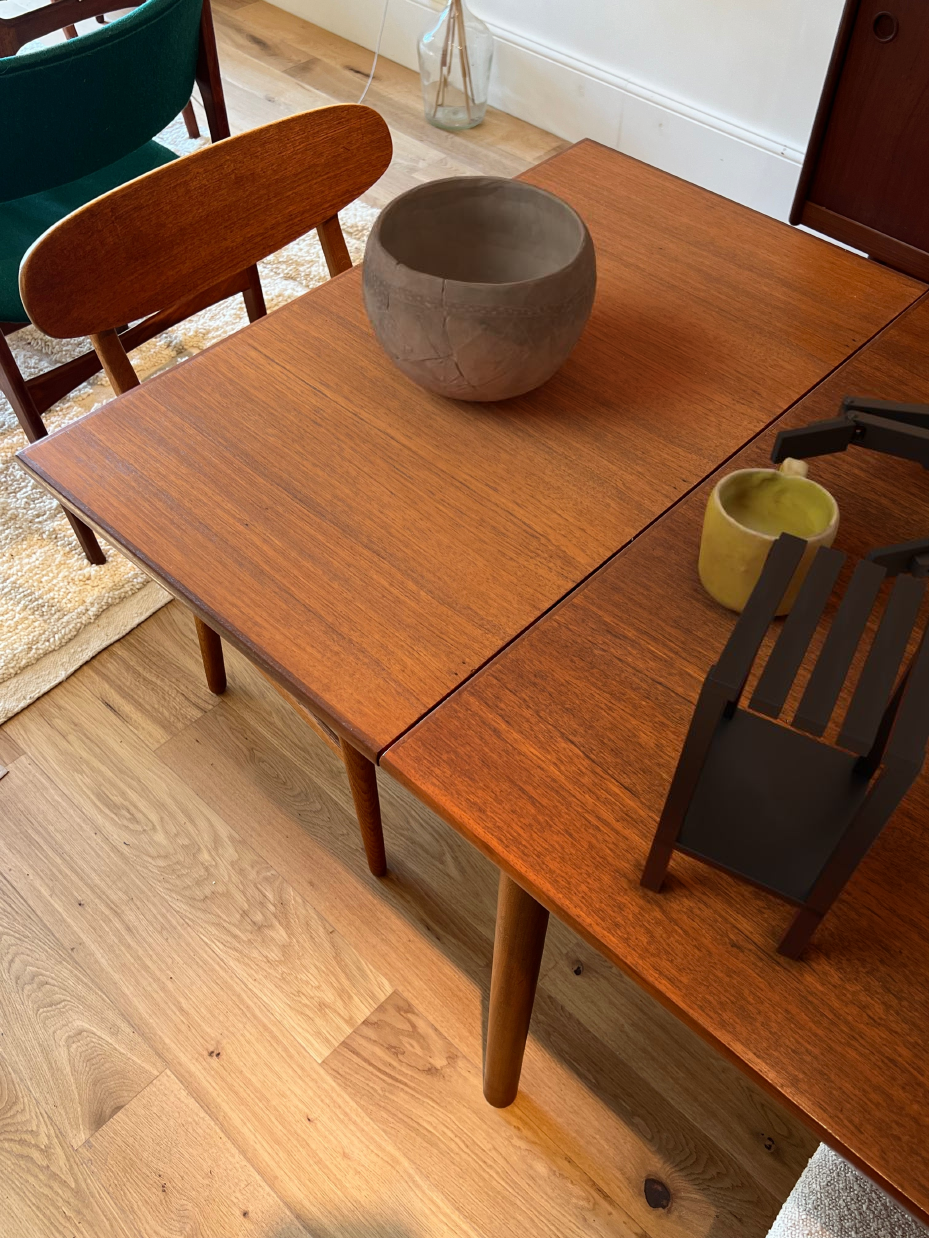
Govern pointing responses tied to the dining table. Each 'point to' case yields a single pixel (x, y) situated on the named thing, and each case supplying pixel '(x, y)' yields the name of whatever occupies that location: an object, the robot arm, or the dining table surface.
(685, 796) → the rack
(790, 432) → the robot arm
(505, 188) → the bowl
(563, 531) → the dining table surface
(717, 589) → the mug
